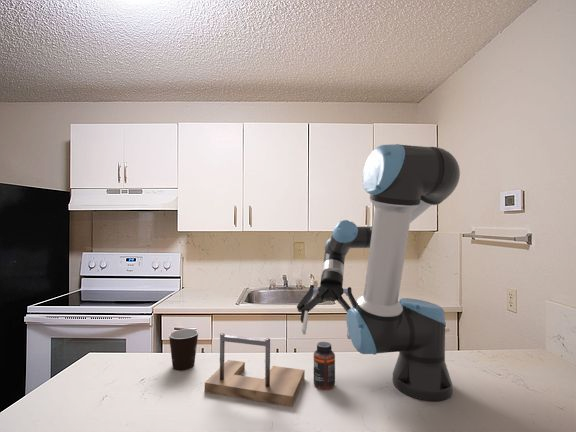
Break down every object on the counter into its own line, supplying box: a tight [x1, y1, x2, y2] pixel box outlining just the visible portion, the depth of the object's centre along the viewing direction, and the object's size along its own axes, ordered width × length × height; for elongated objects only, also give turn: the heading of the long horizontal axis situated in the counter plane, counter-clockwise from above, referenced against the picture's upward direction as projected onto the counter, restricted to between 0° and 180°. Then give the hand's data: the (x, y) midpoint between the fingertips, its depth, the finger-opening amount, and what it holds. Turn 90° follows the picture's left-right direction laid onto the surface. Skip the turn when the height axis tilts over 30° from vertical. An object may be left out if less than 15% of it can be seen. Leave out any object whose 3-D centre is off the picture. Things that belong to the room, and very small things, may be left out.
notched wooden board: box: [204, 359, 305, 408], centre depth 86 cm, size 24×14×2 cm, turn 75°
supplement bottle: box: [313, 341, 336, 391], centre depth 86 cm, size 6×6×11 cm
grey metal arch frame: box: [219, 333, 271, 387], centre depth 83 cm, size 14×1×12 cm, turn 75°
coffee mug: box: [168, 328, 199, 372], centre depth 98 cm, size 12×9×10 cm
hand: (325, 334), depth 93 cm, fingers open, 13 cm apart
